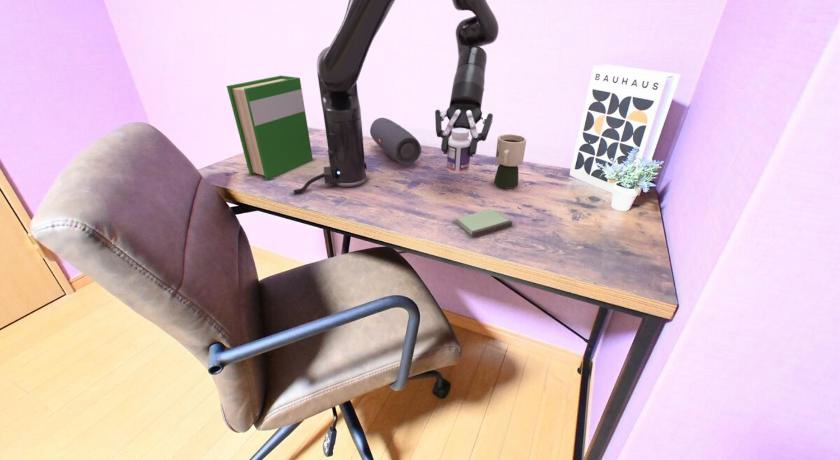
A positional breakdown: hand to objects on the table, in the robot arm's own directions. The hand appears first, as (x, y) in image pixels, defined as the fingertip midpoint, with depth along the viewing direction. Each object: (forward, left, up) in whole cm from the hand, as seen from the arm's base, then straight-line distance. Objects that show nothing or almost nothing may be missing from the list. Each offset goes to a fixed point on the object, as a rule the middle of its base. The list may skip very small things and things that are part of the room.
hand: (458, 153), depth 86 cm
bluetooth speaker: (-10, +34, -12) cm, 37 cm away
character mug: (+16, +6, -12) cm, 21 cm away
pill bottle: (+1, +2, -5) cm, 5 cm away
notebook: (+3, -12, -12) cm, 18 cm away
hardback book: (-44, +32, -12) cm, 56 cm away
